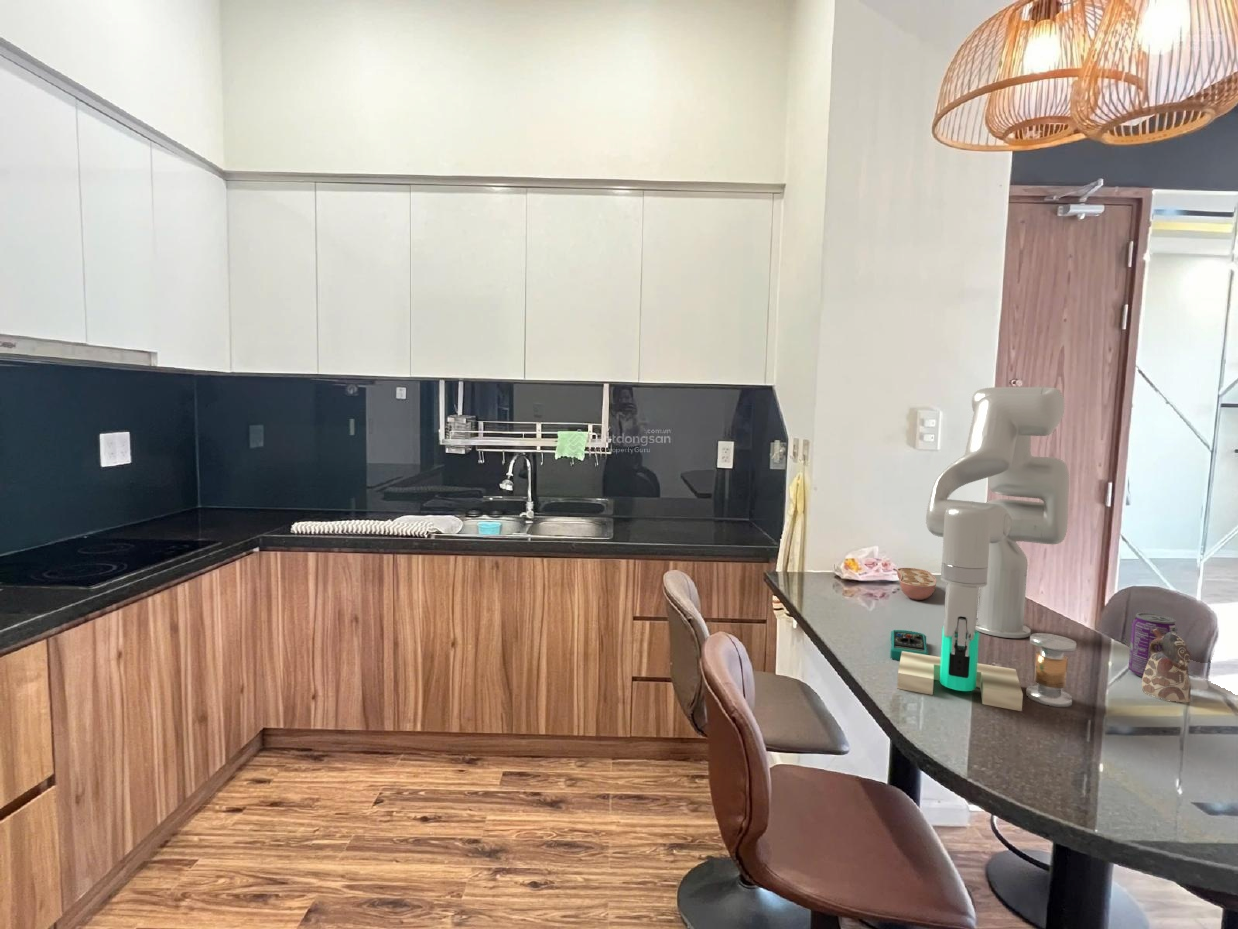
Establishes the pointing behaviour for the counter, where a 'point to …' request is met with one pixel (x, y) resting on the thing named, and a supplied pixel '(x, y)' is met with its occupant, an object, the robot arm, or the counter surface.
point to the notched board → (992, 680)
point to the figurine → (1168, 668)
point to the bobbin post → (1051, 670)
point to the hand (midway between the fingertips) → (958, 669)
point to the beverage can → (1146, 638)
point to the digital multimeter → (907, 643)
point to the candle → (969, 682)
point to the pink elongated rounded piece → (916, 583)
